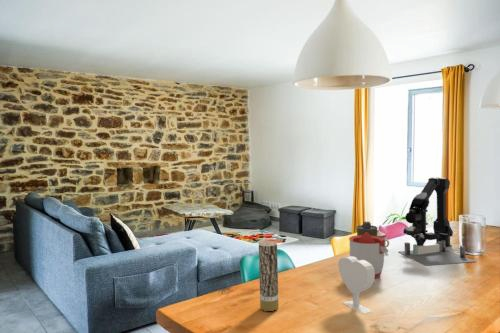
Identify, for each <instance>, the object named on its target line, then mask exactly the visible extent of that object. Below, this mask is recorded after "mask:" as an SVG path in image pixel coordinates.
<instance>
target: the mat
mask: <svg viewBox="0 0 500 333" xmlns="http://www.w3.org/2000/svg"><path fill="white" fill-rule="evenodd" d="M398 254H401V255H403V256H405V257H407V258H409V259H411V260H413V261H414V262H418V263H419V264H421V265H423V266H425V267H429V266H431V267H432V266H442V265H457V264H470V263H471V264H472V263H476V262H477V261H476V260H474V259H471V258H469V257H466V256H465V258H461V257H460V253H459V254H458V253H455V252H454V251H451V250H449V249H446V248H445V252H434V253H426V254H419V255H414V254H413V250H410V255H406V254H405V250H402V251H401V250H400V251H398Z"/></svg>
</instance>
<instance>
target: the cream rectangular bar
mask: <svg viewBox="0 0 500 333" xmlns="http://www.w3.org/2000/svg"><path fill="white" fill-rule="evenodd" d="M412 246H413V247H412V251H413V254H414V255H419V254H426V253H434V252H442V242H440V241H439V242H438V244H436V243H432V244H424V245H422V246H418V245H417V243H416V244H413V245H412Z"/></svg>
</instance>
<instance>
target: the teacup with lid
mask: <svg viewBox="0 0 500 333" xmlns="http://www.w3.org/2000/svg"><path fill="white" fill-rule="evenodd" d="M386 236H387V235H386V233H384V232H382V231H380V229H379V228H377V237H381V238H383V239H384V244H385V248H388V247H389V246H390V241H389V239H387V238H386Z"/></svg>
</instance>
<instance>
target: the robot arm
mask: <svg viewBox="0 0 500 333" xmlns="http://www.w3.org/2000/svg"><path fill="white" fill-rule="evenodd" d="M450 184H451V182H450V179H449V178H447V177H429V178H428V181H427V183H426V184H425V186H424V187H423V189H422V190H421V191H420V193H418V194H416V195H415V196H414V197H413V198H412V200H411V204H410V205H409V208H408V212H407V213H406V214H405V220H406V222H407V223H409V224H411V225H410V226H408V227H405V228H404V229H403V234H405V235H406V236H411V238H413V239H414V240H415V243H416V245H418V246H422V245H425V242H426V241H427V240H428V241H433V240H435V241H436V243H435V244H438V242H439V241H440V242H441V240H445V248H447V247H453V246H452V244H451V237H453V235H454V231H453V229H452V227H451V223H450V221H449V219H448V218H447V192H448V191H449V190H450ZM434 191H435V193H436V219H435V220H434V221H433V223H432V224H433V232H429V230H427V226H428V224H429V223H428V222H427V212H428V211H429V210H428V209H427V208H428V207H429V204H430V197H431V196H432V195H433V193H434Z"/></svg>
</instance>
